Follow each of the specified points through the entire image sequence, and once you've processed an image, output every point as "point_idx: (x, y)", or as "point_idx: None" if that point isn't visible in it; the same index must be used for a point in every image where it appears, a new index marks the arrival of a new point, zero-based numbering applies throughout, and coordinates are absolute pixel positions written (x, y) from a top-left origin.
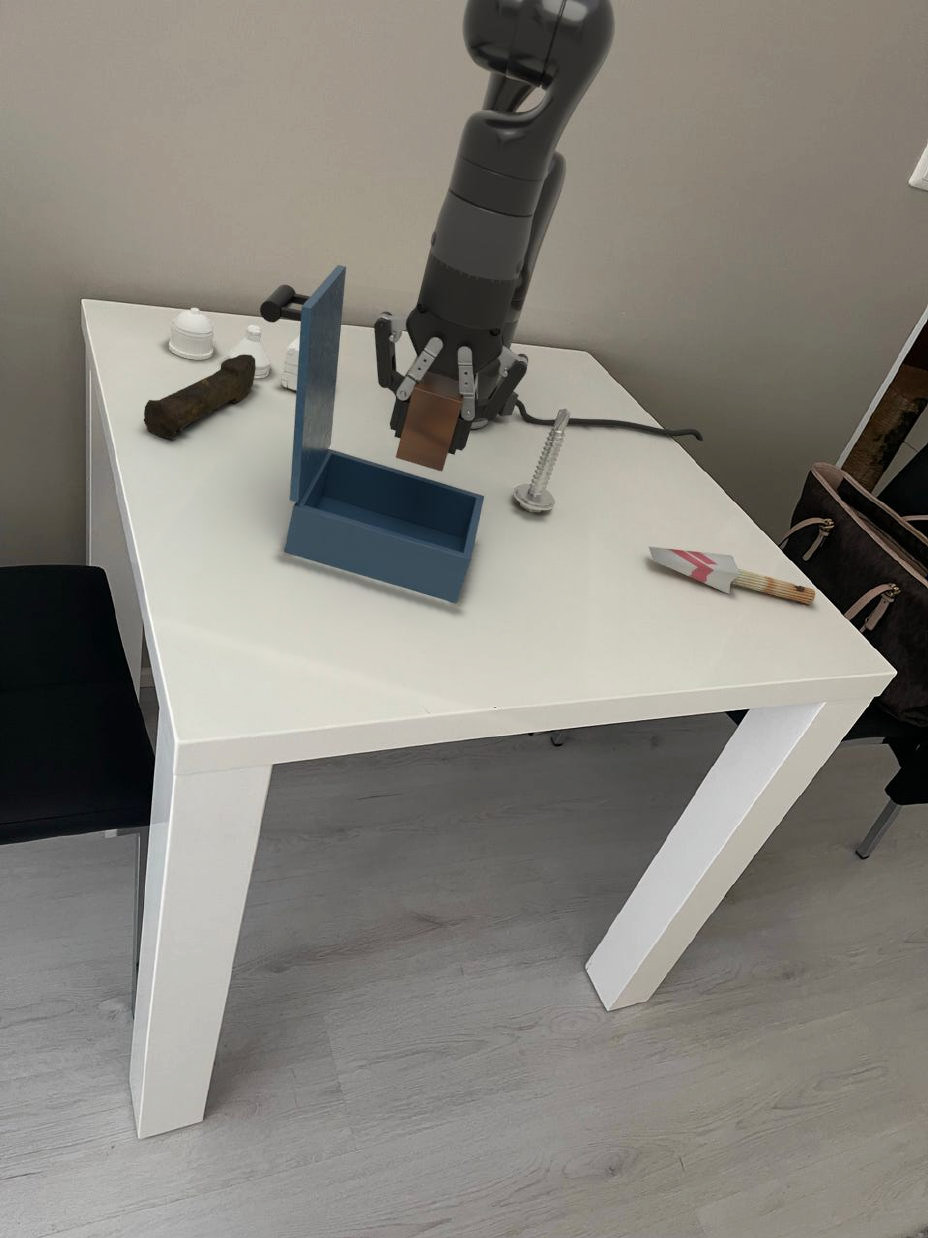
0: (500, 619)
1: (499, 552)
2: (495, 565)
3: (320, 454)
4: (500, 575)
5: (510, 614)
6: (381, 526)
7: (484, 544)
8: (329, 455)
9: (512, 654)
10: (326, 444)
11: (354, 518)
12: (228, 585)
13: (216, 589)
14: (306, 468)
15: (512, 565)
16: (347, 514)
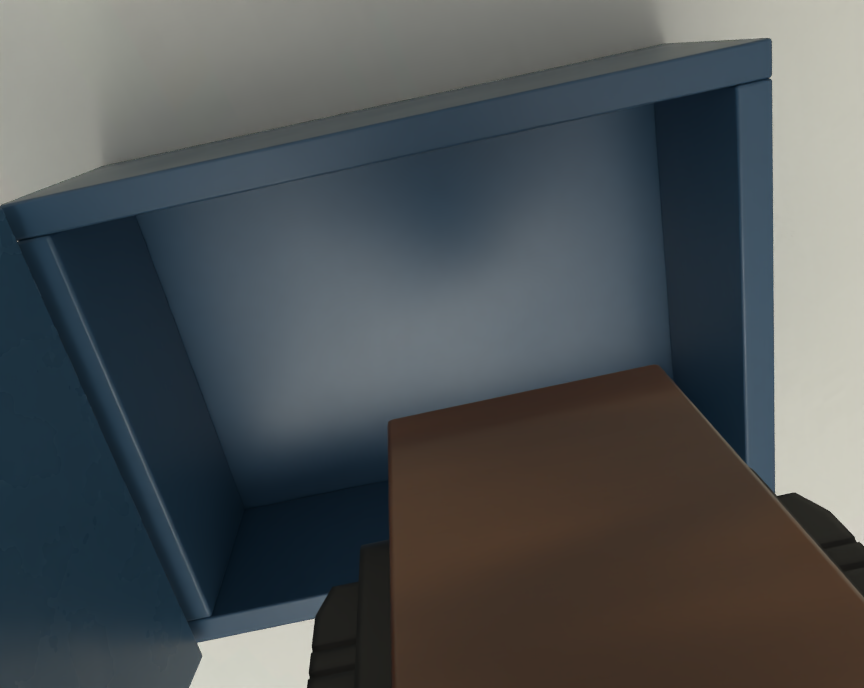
0: (814, 378)
1: (780, 17)
2: (775, 117)
3: (67, 427)
4: (797, 166)
5: (840, 339)
6: (380, 226)
7: (720, 4)
8: (56, 264)
9: (853, 482)
10: (20, 320)
11: (287, 247)
12: (206, 660)
13: (196, 682)
14: (136, 661)
15: (833, 71)
16: (256, 240)
